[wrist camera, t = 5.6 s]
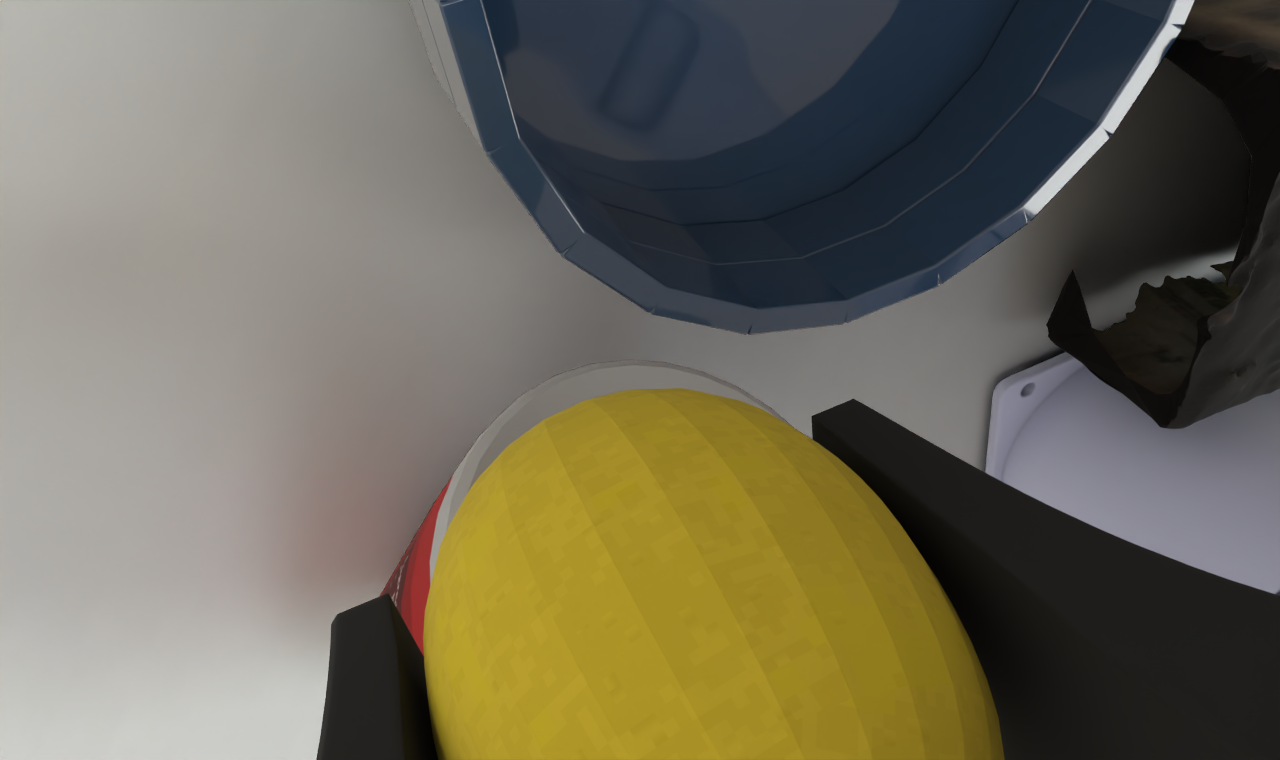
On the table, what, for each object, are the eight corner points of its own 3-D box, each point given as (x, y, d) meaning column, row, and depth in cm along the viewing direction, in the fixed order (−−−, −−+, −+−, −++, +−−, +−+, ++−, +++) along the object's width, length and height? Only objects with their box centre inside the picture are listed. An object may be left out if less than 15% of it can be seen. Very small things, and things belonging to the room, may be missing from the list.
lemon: (300, 566, 12) (435, 1363, 7) (483, 208, 11) (903, 880, 5) (626, 605, 16) (913, 1164, 10) (811, 336, 14) (1303, 828, 8)
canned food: (670, 671, 26) (927, 505, 18) (542, 982, 21) (823, 954, 12) (436, 520, 25) (588, 276, 17) (242, 801, 20) (326, 645, 12)
